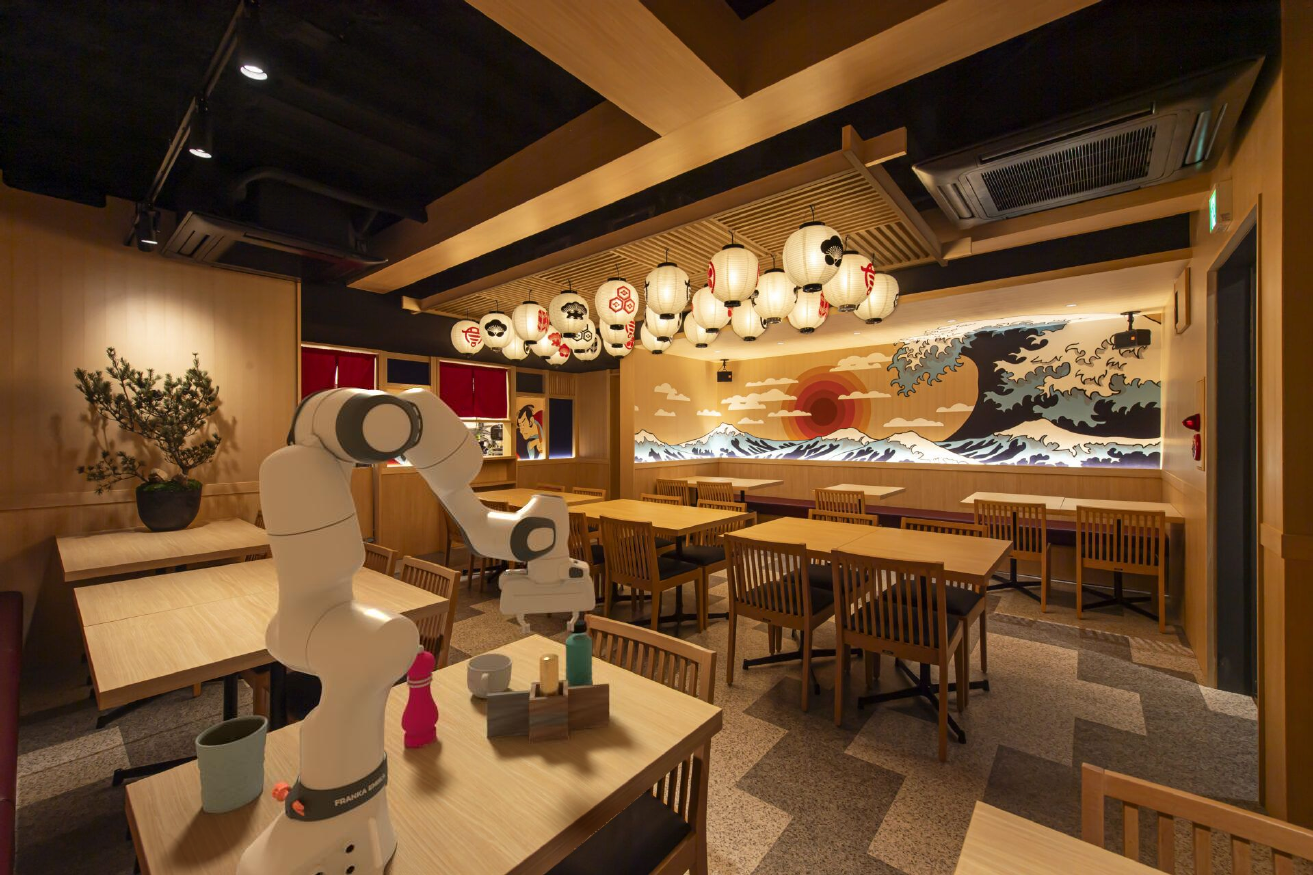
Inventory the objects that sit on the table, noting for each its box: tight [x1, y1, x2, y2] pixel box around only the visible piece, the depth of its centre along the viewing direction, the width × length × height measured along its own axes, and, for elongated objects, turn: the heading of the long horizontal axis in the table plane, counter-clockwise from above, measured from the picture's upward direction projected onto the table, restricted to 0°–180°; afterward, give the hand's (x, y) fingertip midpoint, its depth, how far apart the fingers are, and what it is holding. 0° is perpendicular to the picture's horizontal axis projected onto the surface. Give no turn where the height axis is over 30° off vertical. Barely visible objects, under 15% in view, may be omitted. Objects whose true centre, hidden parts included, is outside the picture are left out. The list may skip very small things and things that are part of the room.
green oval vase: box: [195, 715, 268, 814], centre depth 94 cm, size 10×10×12 cm
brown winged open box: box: [486, 679, 611, 744], centre depth 115 cm, size 8×26×9 cm, turn 99°
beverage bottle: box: [564, 619, 594, 687], centre depth 125 cm, size 6×7×20 cm
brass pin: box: [539, 653, 559, 697], centre depth 115 cm, size 4×4×16 cm
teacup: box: [466, 652, 513, 699], centre depth 130 cm, size 14×11×8 cm
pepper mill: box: [400, 644, 440, 749], centre depth 112 cm, size 7×7×20 cm
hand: (548, 631), depth 114 cm, fingers open, 8 cm apart
